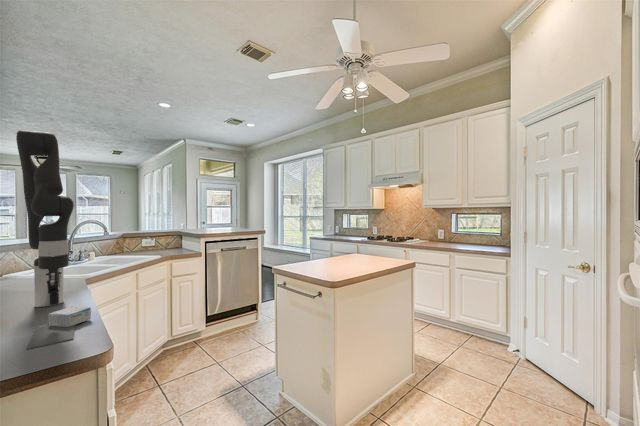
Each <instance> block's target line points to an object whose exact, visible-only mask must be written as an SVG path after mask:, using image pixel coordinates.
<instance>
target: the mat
mask: <svg viewBox="0 0 640 426" xmlns="http://www.w3.org/2000/svg"><path fill="white" fill-rule="evenodd" d="M75 328H76V325H73V326H70V327H57V326H49V324H48V325H42V326H37V327H36V328H35V330H34V332H33V334H32V335H31V336H32V337H31V339H30V341H29V343H28V345H27V348H26V350H27V351H28V350H32V349H38V348H42V347H45V346H50V345H56V344H60V343H64V342H68V341H73V340H74V336H75Z"/></svg>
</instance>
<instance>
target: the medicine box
mask: <svg viewBox="0 0 640 426" xmlns="http://www.w3.org/2000/svg"><path fill="white" fill-rule="evenodd" d="M91 315H92V308H91V307H89V306H76V305H75V306H69V307H66V308H65V307H64V308H63V309H59V310H57V311H53V312H50V313H48V325H49V326H57V327H70V326H73V325H75V326H76V325H79V324H80V323H81V324H82V323H83V322H84V323H85V322H86V321H89V320H91V319H92V318H91V317H92V316H91Z"/></svg>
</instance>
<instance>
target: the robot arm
mask: <svg viewBox="0 0 640 426" xmlns="http://www.w3.org/2000/svg"><path fill="white" fill-rule="evenodd" d="M15 138H16V145H17V151H18V155H19V160H20V165H21V170H22V181H23V182H22V183H23V194H24V200H25V201H24V202H25V207H26V212H27V213H26V214H27V222H28V223H27V225H28V227H27V229H28V231H27V232H28V244H29V247H30V248H31V249H32V250H37V251H38V252H37V254H38V257H37V258H36V259H34V261H33V266H34V268H33V270H34V271H33V275H34V276H33V277H34V278H33V279H34V283H33V284H34V289H33V290H34V302H33V303H34V307H36V308H41V307H42V308H43V307H49V306H57V305H58V304H62V303H64V301H65V298H64V297H65V296H64V293H65V288H64V280H65V279H64V268H66V267H68V266H69V261H70V260H69V242H68V227H69V226H68V225H69V222H70V218H71V216H72V213H73V210H74V206H75V205H74V201H73V199H72V198H71V197H69V196H66V195H61V194H63V192H64V191H63V190H64V189H63V184H62V183H63V182H62V179H61V174H60V154H59V153H60V152H59V142H58V140H57V137H56V135H55V134H54V133H52V132H48V131H40V130H39V131H37V130H27V129H26V130H25V129H24V130H23V129H21V130H20V129H19V130H18V131H17V132H16V137H15ZM36 156H37V157H46V159H45V160H44V161H43V162H42V163H41V164H40V165H39V166H37V165H36V164H35V162H34V161H33V159H32V157H36ZM45 217H58V219H57V220H56V221H55V220H54V221H52V222H48V223H47V222H46V223H43V224H41V223H42V221H43V219H44V218H45Z"/></svg>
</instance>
